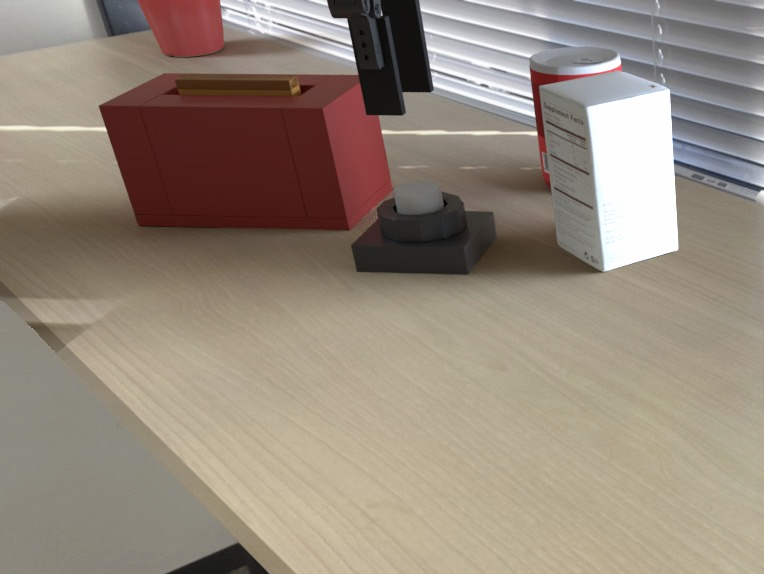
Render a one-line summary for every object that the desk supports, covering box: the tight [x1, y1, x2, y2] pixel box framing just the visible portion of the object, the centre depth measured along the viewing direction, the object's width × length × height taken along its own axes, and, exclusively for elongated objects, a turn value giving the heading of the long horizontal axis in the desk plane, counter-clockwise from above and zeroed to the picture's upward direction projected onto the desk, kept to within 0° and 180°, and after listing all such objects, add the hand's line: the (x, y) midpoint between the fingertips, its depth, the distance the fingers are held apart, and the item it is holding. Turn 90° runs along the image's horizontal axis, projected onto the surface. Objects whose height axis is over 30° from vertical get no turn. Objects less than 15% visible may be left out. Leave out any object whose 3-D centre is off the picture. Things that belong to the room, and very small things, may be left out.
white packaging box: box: [539, 70, 679, 273], centre depth 89 cm, size 7×7×13 cm
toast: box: [175, 73, 301, 97], centre depth 99 cm, size 10×2×10 cm, turn 84°
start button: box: [392, 180, 444, 215], centre depth 90 cm, size 4×4×2 cm
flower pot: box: [137, 0, 225, 58], centre depth 150 cm, size 11×11×10 cm
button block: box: [350, 191, 498, 276], centre depth 92 cm, size 9×8×4 cm
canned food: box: [528, 46, 623, 190], centre depth 103 cm, size 8×8×11 cm
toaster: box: [98, 72, 394, 231], centre depth 100 cm, size 19×10×10 cm, turn 84°
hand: (401, 101), depth 86 cm, fingers open, 6 cm apart
